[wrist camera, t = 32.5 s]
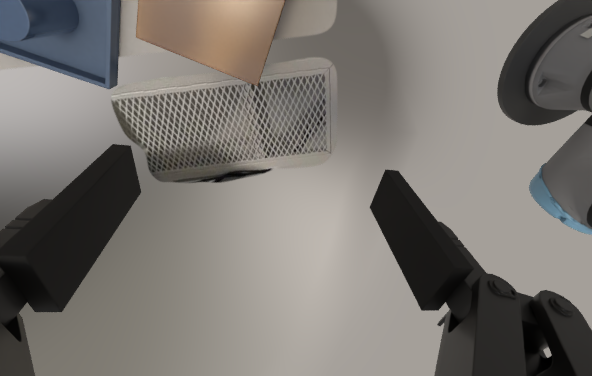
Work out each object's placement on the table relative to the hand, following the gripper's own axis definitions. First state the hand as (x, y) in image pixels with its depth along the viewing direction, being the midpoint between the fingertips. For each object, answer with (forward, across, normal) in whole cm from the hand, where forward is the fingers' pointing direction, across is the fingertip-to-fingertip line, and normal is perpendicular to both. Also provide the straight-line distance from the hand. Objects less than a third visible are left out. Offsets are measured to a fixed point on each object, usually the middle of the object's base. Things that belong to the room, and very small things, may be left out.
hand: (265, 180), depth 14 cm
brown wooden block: (+33, -5, +8) cm, 34 cm away
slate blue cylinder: (+32, -28, +3) cm, 43 cm away
